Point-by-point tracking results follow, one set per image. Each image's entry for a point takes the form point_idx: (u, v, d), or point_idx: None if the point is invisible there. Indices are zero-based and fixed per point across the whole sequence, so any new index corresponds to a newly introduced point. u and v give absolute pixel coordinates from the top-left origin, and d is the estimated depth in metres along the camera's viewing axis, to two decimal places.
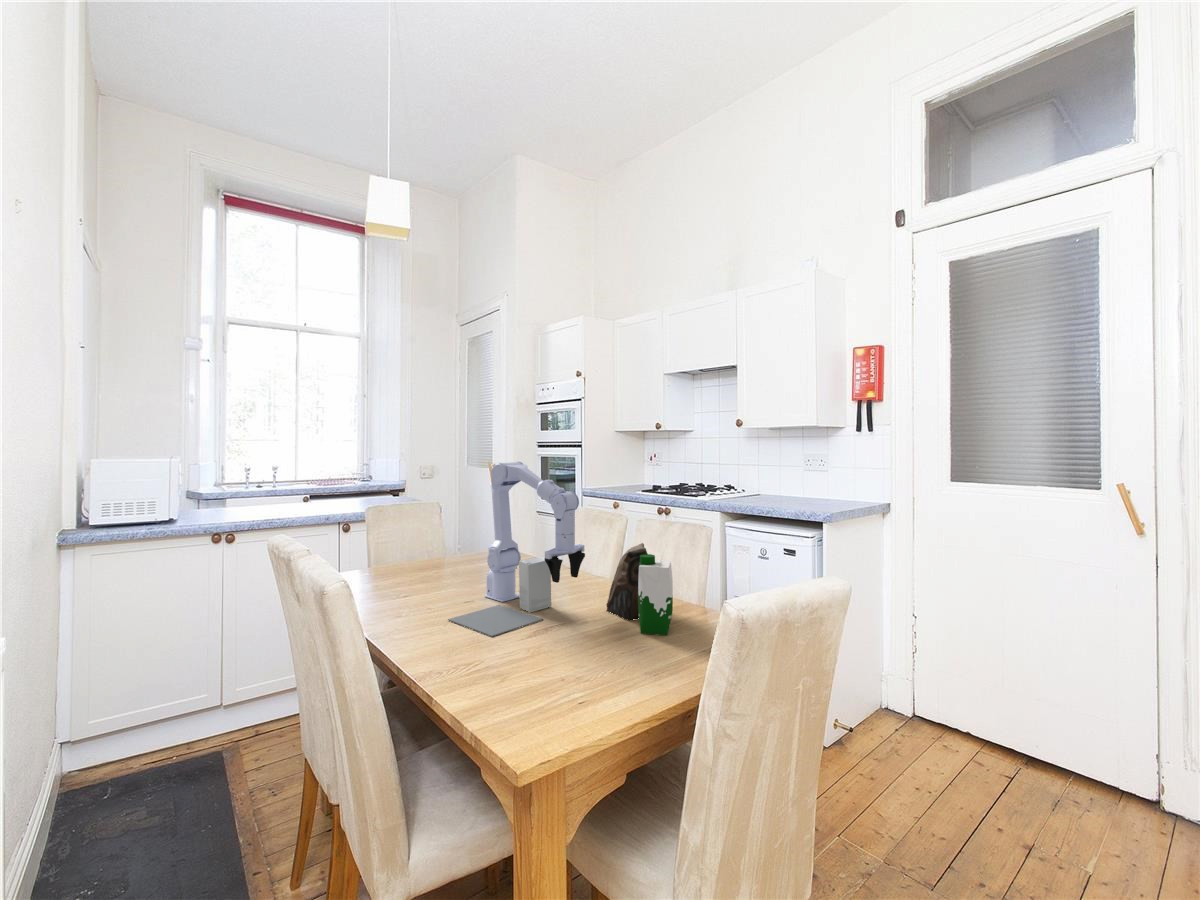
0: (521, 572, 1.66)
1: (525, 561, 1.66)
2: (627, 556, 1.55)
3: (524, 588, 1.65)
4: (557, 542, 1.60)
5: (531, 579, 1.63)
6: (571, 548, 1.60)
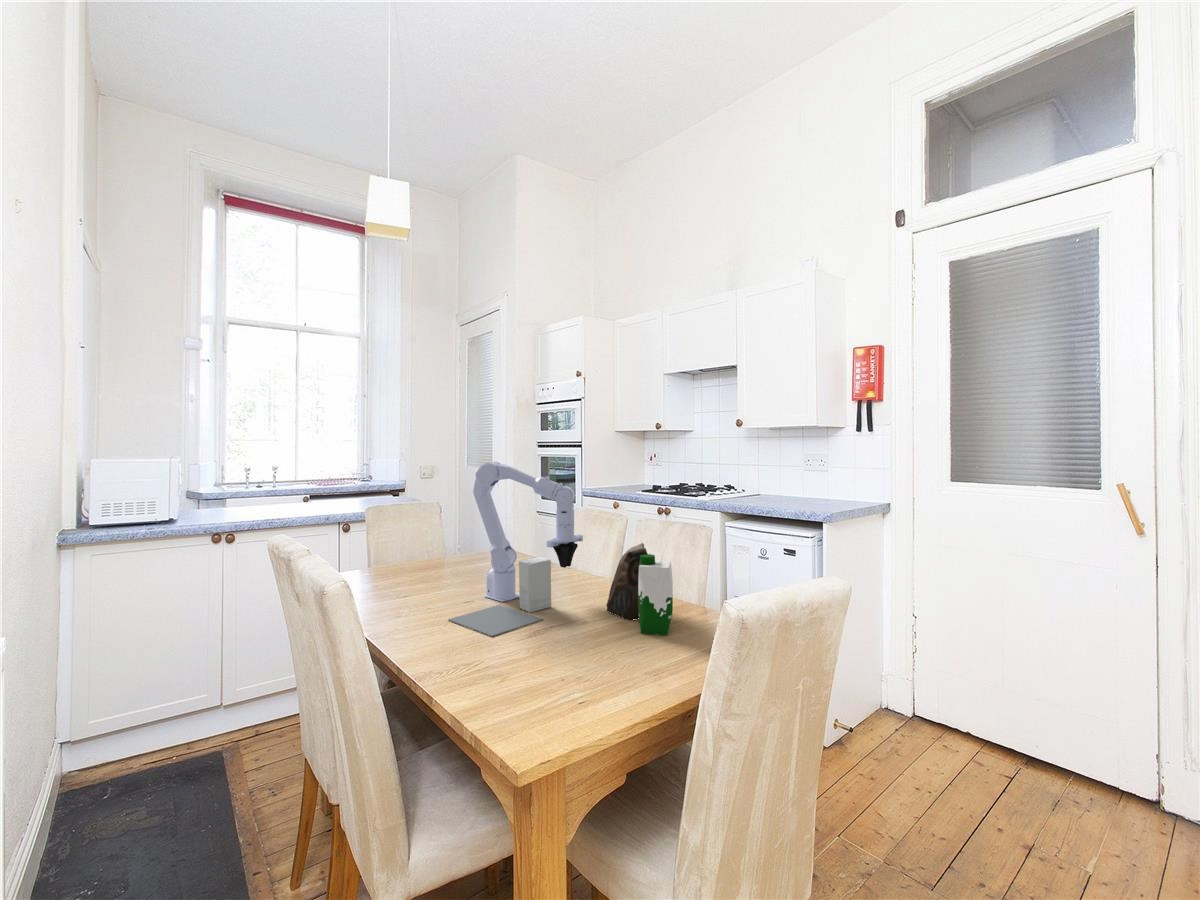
0: (521, 572, 1.66)
1: (525, 561, 1.66)
2: (627, 556, 1.55)
3: (524, 588, 1.65)
4: (558, 532, 1.75)
5: (531, 579, 1.63)
6: (571, 538, 1.75)
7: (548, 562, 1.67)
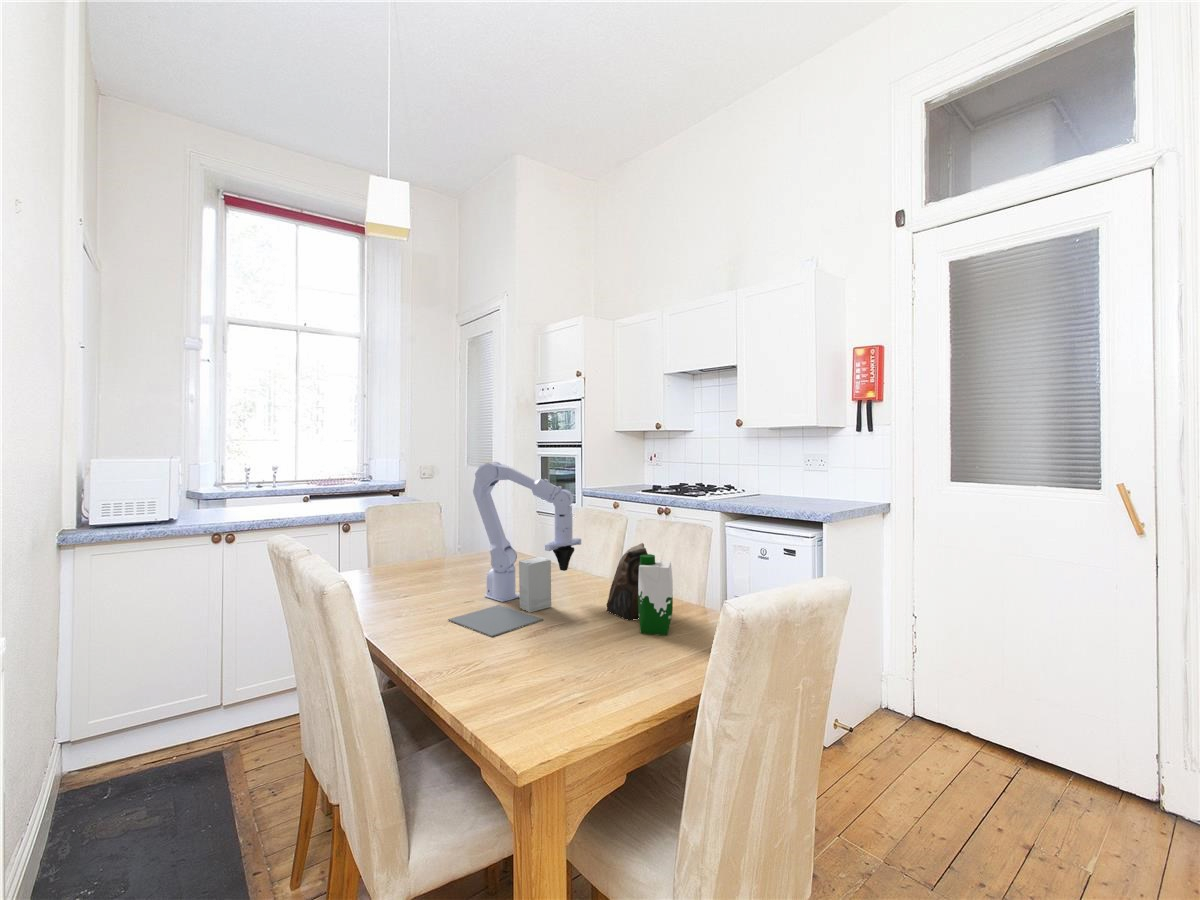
0: (521, 572, 1.66)
1: (525, 561, 1.66)
2: (627, 556, 1.55)
3: (524, 588, 1.65)
4: (556, 536, 1.75)
5: (531, 579, 1.63)
6: (569, 541, 1.75)
7: (548, 562, 1.67)
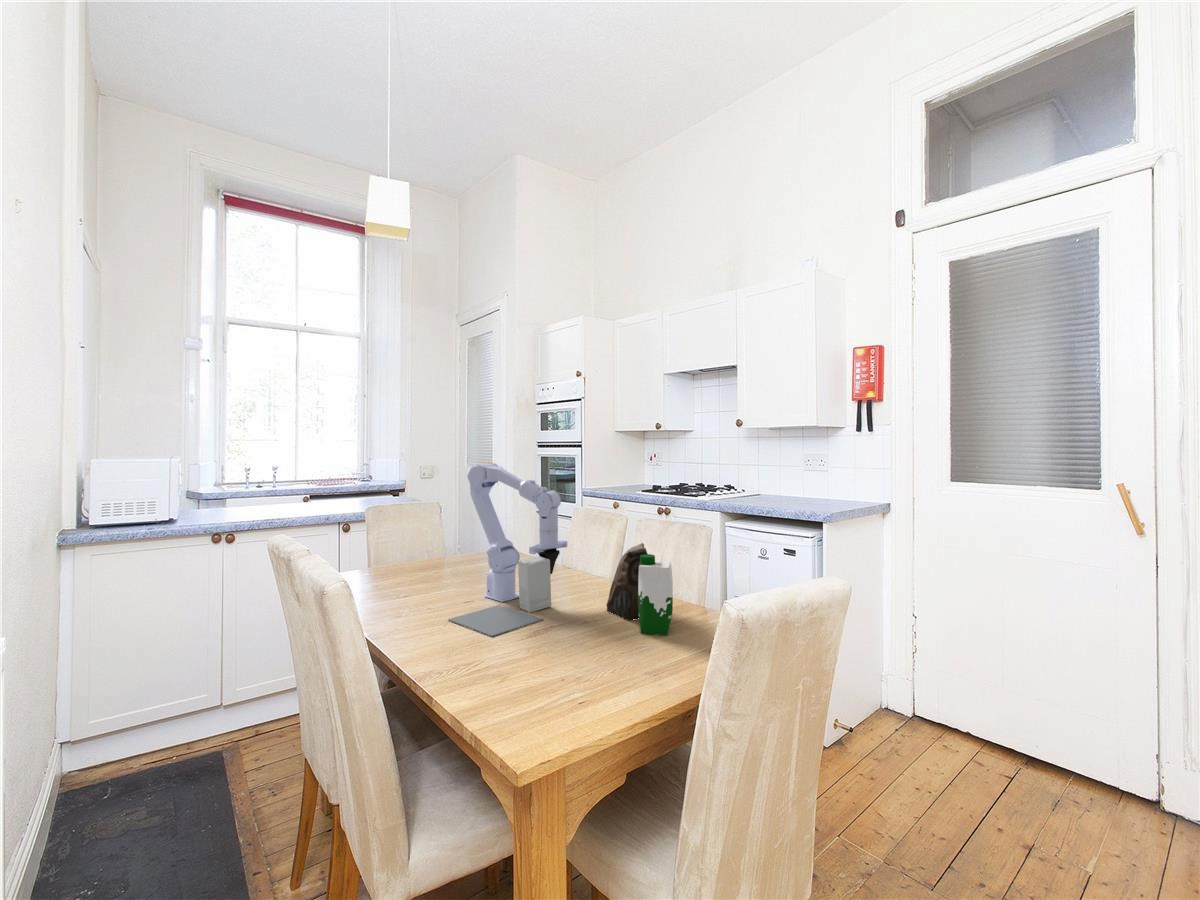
0: (521, 572, 1.65)
1: (524, 561, 1.66)
2: (627, 556, 1.55)
3: (524, 588, 1.65)
4: (541, 538, 1.70)
5: (530, 579, 1.63)
6: (554, 544, 1.70)
7: (547, 562, 1.67)
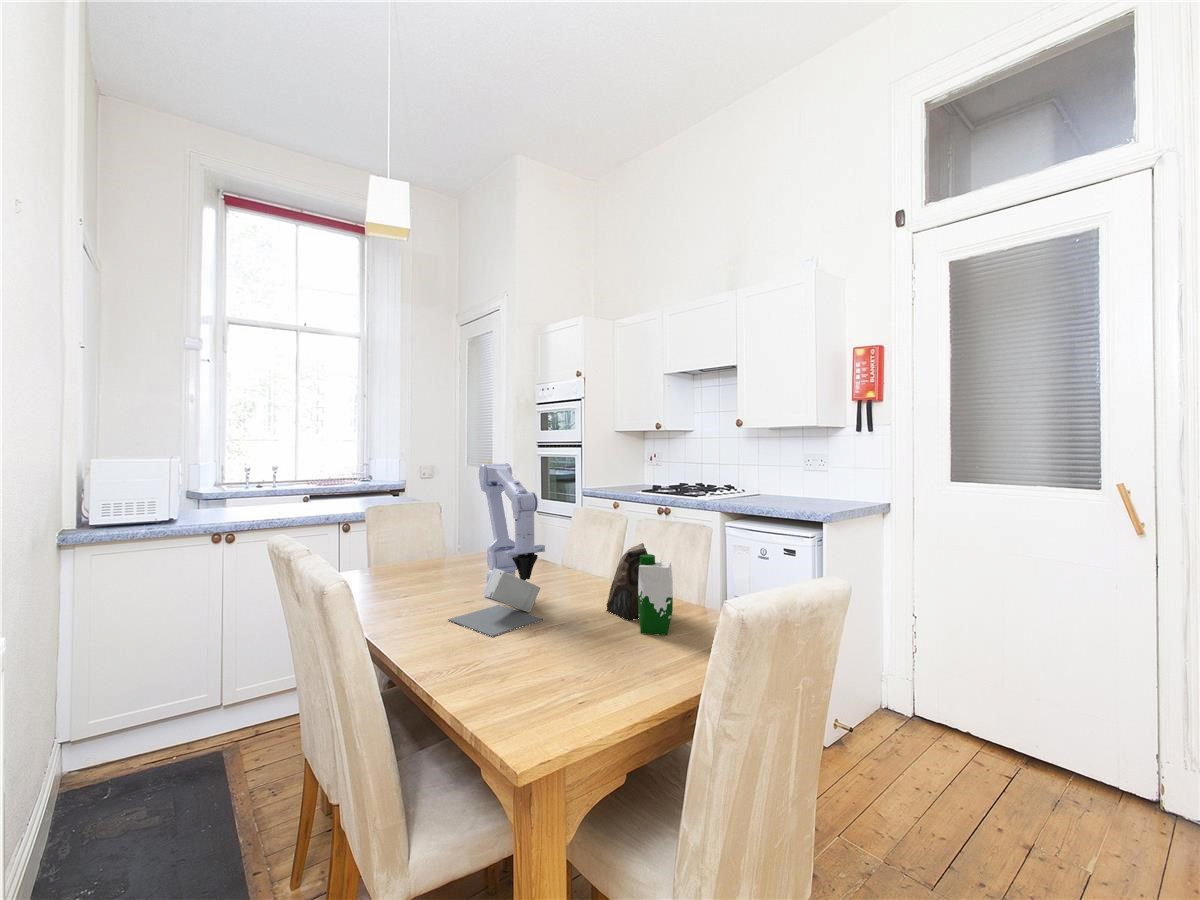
0: None
1: (487, 591, 1.57)
2: (627, 556, 1.55)
3: None
4: (516, 542, 1.62)
5: (506, 600, 1.58)
6: (530, 548, 1.62)
7: (504, 575, 1.57)
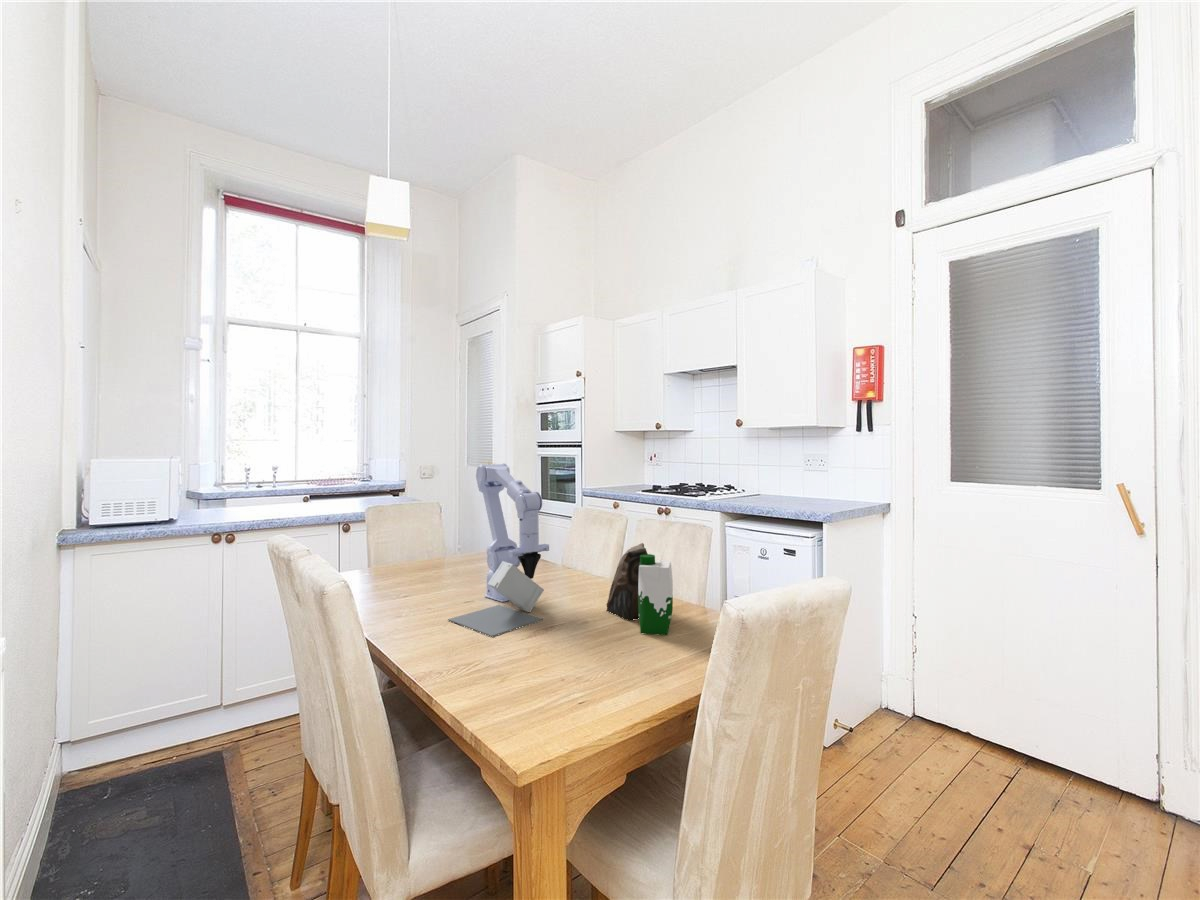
0: (497, 590, 1.60)
1: (492, 581, 1.59)
2: (627, 556, 1.55)
3: (510, 599, 1.61)
4: (521, 541, 1.64)
5: (509, 594, 1.58)
6: (534, 547, 1.63)
7: (512, 568, 1.59)
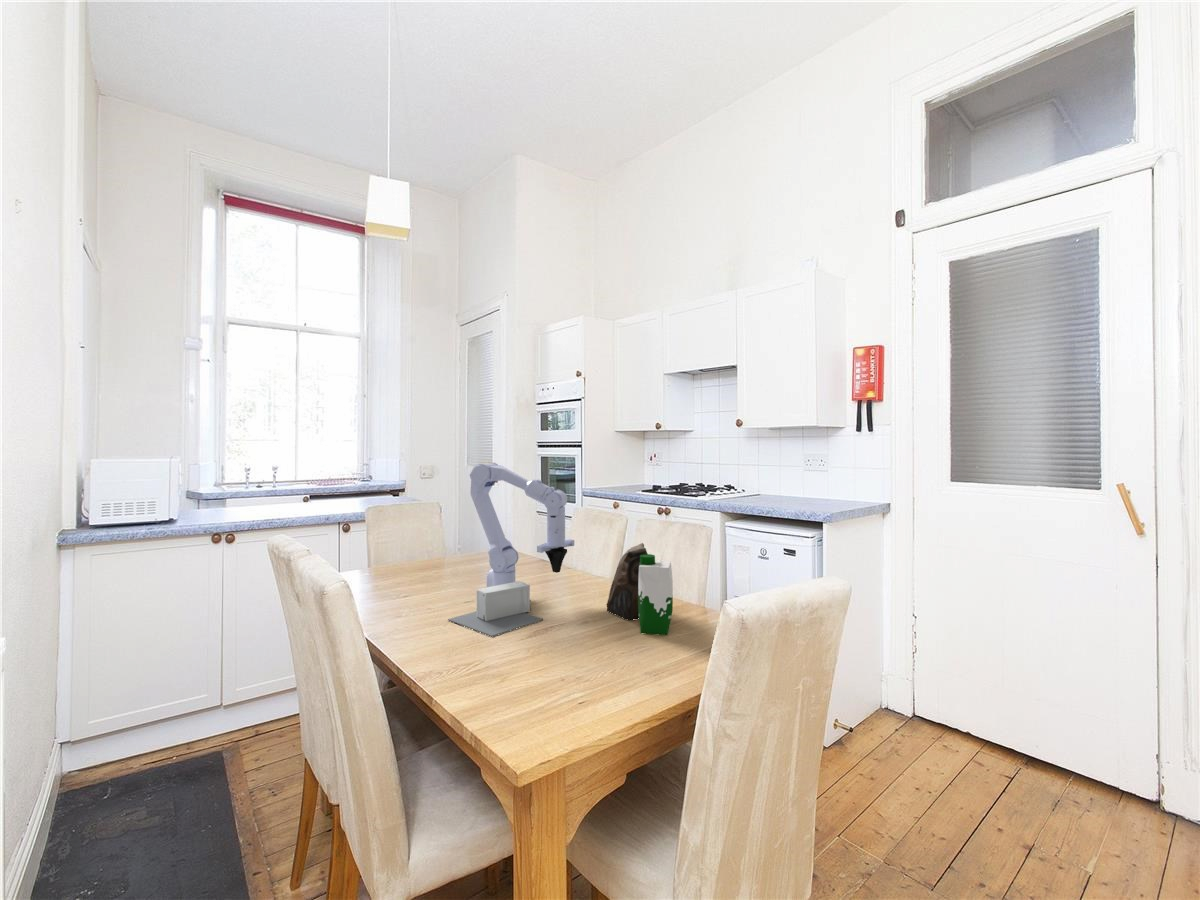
0: None
1: (479, 614, 1.57)
2: (627, 556, 1.55)
3: None
4: (548, 537, 1.72)
5: (500, 615, 1.57)
6: (562, 542, 1.72)
7: (487, 595, 1.54)
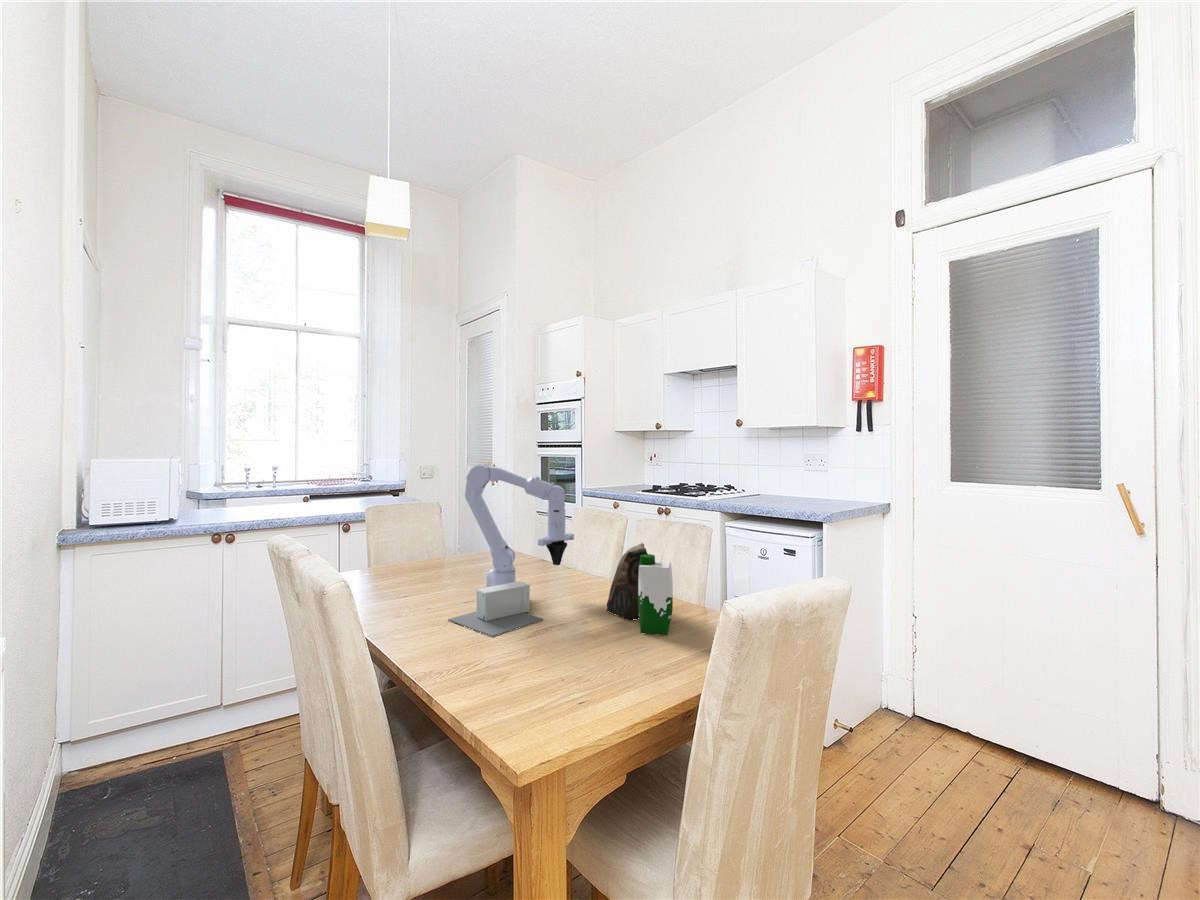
0: None
1: (479, 614, 1.57)
2: (627, 556, 1.55)
3: None
4: (549, 531, 1.78)
5: (500, 615, 1.57)
6: (562, 536, 1.78)
7: (487, 595, 1.54)
